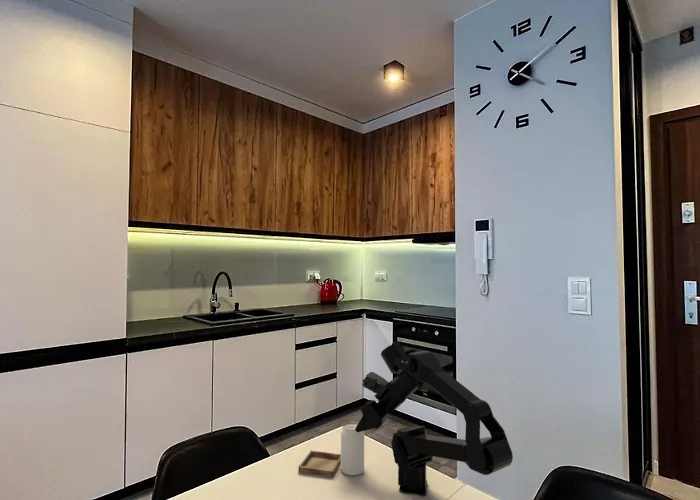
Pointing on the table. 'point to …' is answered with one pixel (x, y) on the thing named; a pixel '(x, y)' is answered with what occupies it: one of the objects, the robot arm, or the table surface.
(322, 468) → the wooden tray
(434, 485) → the table surface
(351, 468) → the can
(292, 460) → the table surface
